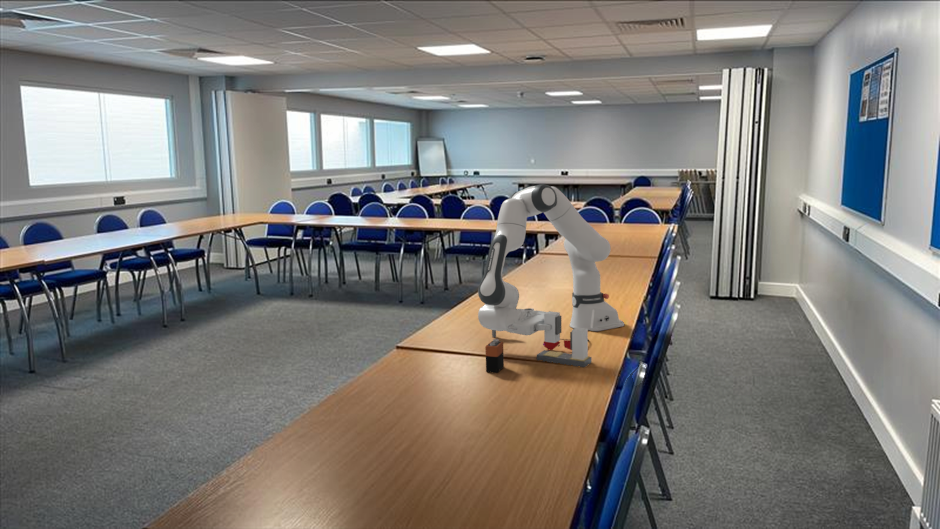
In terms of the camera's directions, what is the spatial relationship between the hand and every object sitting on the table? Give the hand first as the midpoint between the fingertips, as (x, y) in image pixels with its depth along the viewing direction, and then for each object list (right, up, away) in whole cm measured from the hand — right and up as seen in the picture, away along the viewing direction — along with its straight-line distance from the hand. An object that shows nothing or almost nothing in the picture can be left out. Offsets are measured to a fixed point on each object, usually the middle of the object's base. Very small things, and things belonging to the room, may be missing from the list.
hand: (554, 325), depth 228 cm
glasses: (+7, -10, +19) cm, 23 cm away
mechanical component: (-20, -8, +34) cm, 40 cm away
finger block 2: (+8, -11, -3) cm, 14 cm away
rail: (+3, -12, 0) cm, 13 cm away
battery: (-21, -14, -6) cm, 26 cm away
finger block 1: (-1, -5, +1) cm, 6 cm away
